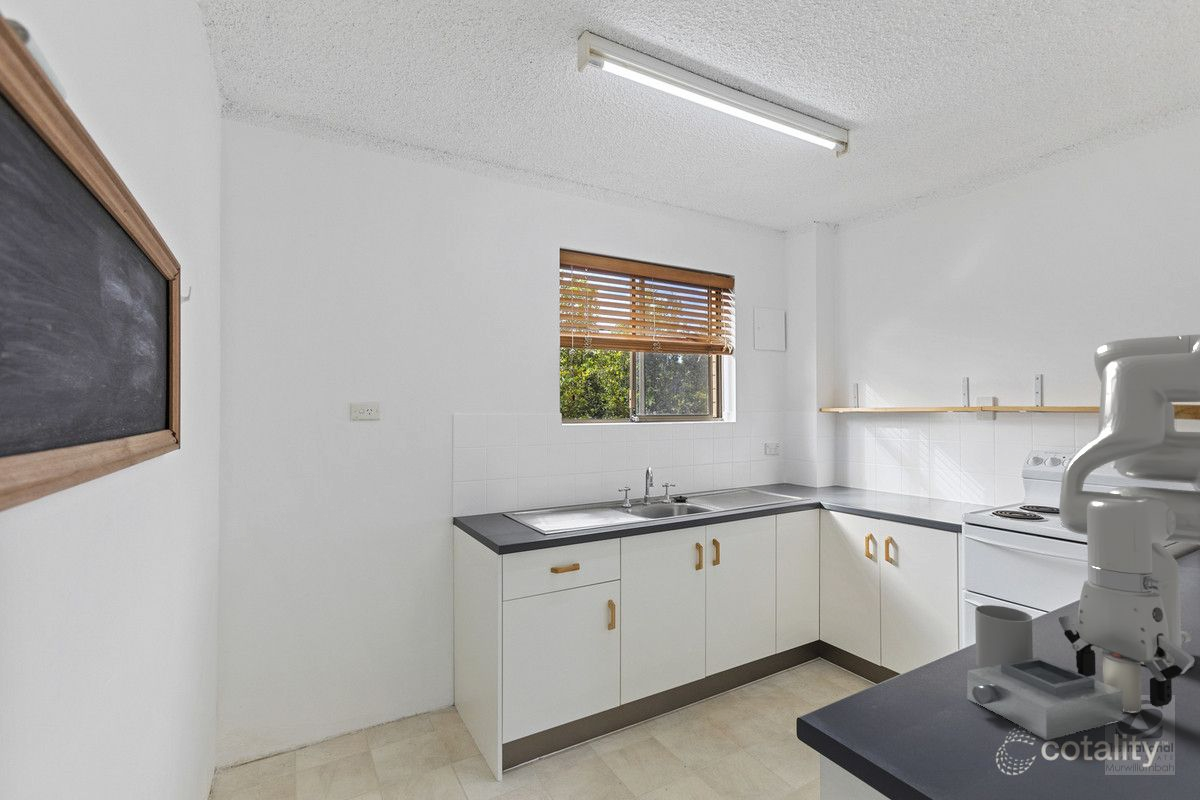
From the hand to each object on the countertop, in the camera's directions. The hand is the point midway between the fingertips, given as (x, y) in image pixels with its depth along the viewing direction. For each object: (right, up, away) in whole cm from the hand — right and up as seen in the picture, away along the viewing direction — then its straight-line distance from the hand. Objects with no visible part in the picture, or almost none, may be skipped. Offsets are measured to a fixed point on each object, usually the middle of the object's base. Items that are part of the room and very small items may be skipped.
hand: (1121, 689), depth 89 cm
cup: (-9, -3, +13) cm, 16 cm away
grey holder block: (-14, -2, -2) cm, 15 cm away
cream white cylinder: (0, -3, 0) cm, 3 cm away
